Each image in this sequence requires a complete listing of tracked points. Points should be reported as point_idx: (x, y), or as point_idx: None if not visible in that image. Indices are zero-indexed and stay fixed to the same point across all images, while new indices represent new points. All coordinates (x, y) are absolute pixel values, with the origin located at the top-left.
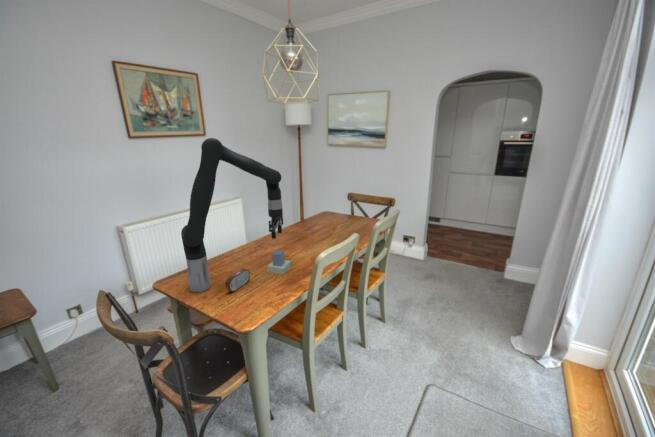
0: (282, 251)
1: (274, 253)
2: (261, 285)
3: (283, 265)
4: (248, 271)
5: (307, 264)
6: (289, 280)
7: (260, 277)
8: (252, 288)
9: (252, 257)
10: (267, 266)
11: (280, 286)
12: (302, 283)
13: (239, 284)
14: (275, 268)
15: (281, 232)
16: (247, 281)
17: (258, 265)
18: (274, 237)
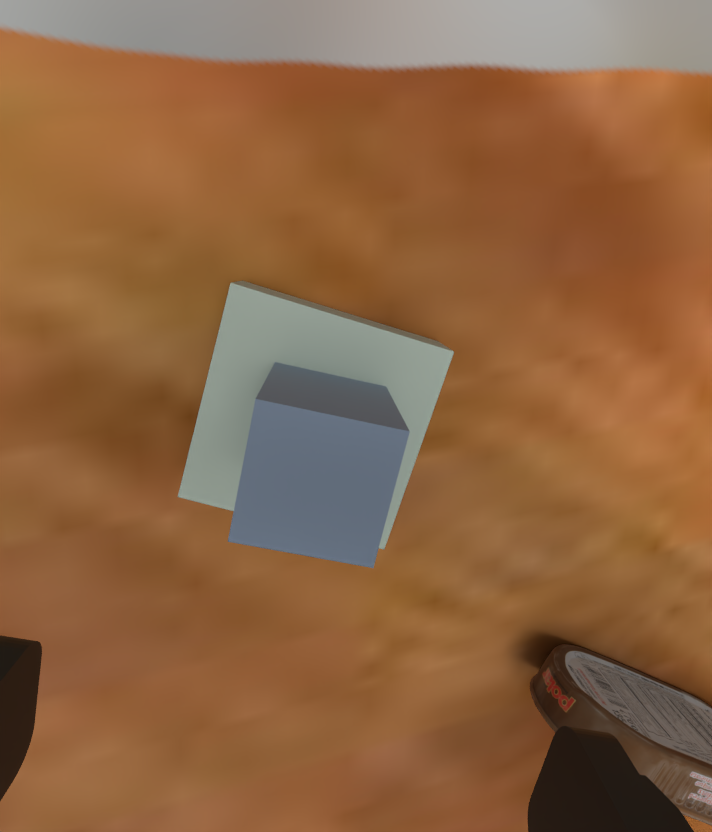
0: (274, 421)
1: (357, 536)
2: (630, 515)
3: (368, 363)
4: (603, 706)
5: (179, 58)
6: (576, 258)
7: (480, 557)
8: (668, 576)
9: (35, 735)
10: (384, 544)
11: (681, 336)
12: (663, 97)
13: (661, 696)
14: (417, 447)
15: (17, 659)
16: (570, 647)
17: (224, 634)
18: (655, 795)
